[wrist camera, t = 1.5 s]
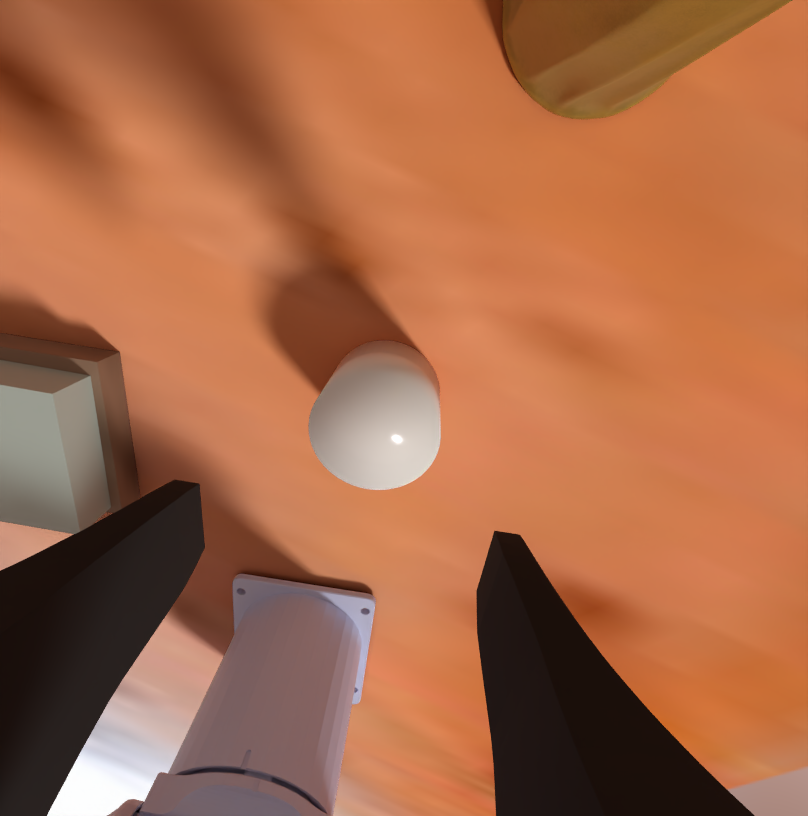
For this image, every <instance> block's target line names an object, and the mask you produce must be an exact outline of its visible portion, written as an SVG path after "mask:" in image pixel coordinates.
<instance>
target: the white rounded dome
mask: <svg viewBox="0 0 808 816" xmlns="http://www.w3.org/2000/svg"><path fill="white" fill-rule="evenodd" d="M309 436H310V441H311V444H312V447H313V449H314V452H315V454H316V455H317V457H318V459H319V460H320V461H321V463H322V464H323V465H324V466H325V467H326V468H327V469H328V470H329V471H330V472H331V473H332V474H334V475H335V476H336V477H338V478H339V479H341V480H343V481H344V482H347V483H349V484H351V485H354V486H357V487H360V488H365V489H372V490H386V489H393V488H397V487H400V486H403V485H406V484H408V483H410V482H412V481H414V480H415V479H417V478H418V477H420V476H421V475H422V474H423V473H424V472H425V471H426V470H427V469H428V468H429V467H430V466H431V464H432V462H433V461H434V459H435V457H436V455H437V453H438V449H439V446H440V439H441V428H440V386H439V381H438V378H437V375H436V372H435V370H434V368H433V367H432V365H431V364H430V362H429V361H428V360H427V359H426V358H425V357H424V356H423V355H422V354H421V353H420V352H418V351H417V350H415V349H414V348H412V347H410V346H408V345H406V344H403V343H400V342H396V341H390V340H377V341H371V342H368V343H364V344H362V345H360V346H358V347H356V348H355V349H353V350H351V351H350V352H349V353H348V354H347V355H346V356H345V357H344V358H343V359H342V360H341V362H340V363H339V365H338V367H337V368H336V370H335V371H334V373H333V374H332V376H331V378H330V379H329V381H328V382H327V384H326V386H325V387H324V389H323V390H322V392H321V393H320V395H319V397H318V398H317V400H316V401H315V403H314V405H313V408H312V410H311V414H310V417H309Z"/></svg>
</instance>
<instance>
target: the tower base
mask: <svg viewBox="0 0 808 816" xmlns="http://www.w3.org/2000/svg"><path fill="white" fill-rule="evenodd" d="M0 360H4V361H10V362H16V363H22V364H27V365H33V366H39V367H44V368H50V369H56V370H61V371H67V372H73V373H78V374H84V375H90V376H91V382H92V389H93V395H94V401H95V408H96V414H97V420H98V427H99V433H100V440H101V446H102V452H103V459H104V465H105V472H106V478H107V484H108V491H109V497H110V503H111V508H110V509H109V510H108V511H107V512H110V513H115V512H117V511H119V510H120V509H122V508H124V507H126V506H127V505H129V504H131V503H133V502H135V501H136V500H138V499H139V498H140V491H139V484H138V477H137V470H136V463H135V456H134V449H133V442H132V435H131V428H130V420H129V413H128V406H127V399H126V392H125V385H124V378H123V371H122V364H121V357H120V352H117V351H111V350H104V349H98V348H92V347H85V346H79V345H73V344H66V343H60V342H54V341H48V340H41V339H35V338H29V337H22V336H16V335H10V334H3V333H0Z"/></svg>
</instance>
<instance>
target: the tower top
mask: <svg viewBox="0 0 808 816" xmlns="http://www.w3.org/2000/svg"><path fill="white" fill-rule="evenodd" d="M110 508H111V503H110V497H109V491H108V484H107V478H106V472H105V465H104V459H103V452H102V446H101V440H100V433H99V427H98V420H97V414H96V408H95V401H94V395H93V389H92V382H91V376H90V375H84V374H78V373H73V372H67V371H61V370H56V369H50V368H44V367H39V366H33V365H27V364H22V363H16V362H10V361H4V360H0V521H2V522H8V523H14V524H19V525H25V526H31V527H37V528H42V529H48V530H54V531H60V532H65V533H71V534H76V533H78V532H80V531H82V530H84V529H86V528H88V527H89V526H91V525H93V524H94V523H95V522H96V521H97V520H98V519H99V518H100V517H101V516H102V515H103V514H105V513H106V512H107V511H108V510H109V509H110Z"/></svg>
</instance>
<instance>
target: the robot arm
mask: <svg viewBox="0 0 808 816" xmlns="http://www.w3.org/2000/svg"><path fill="white" fill-rule="evenodd" d="M204 548H205V543H204V532H203V520H202V508H201V496H200V485H199V484H198V483H192V482H185V481H179V480H173V481H171V482H169V483H167V484H165V485H164V486H162V487H160V488H158V489H156V490H154V491H153V492H151V493H149V494H147V495H145V496H144V497H142V498H140V499H138V500H136V501H135V502H133V503H131V504H129V505H127V506H126V507H124V508H122V509H120V510H119V511H117V512H115V513H113V514H111V515H109V516H108V517H106V518H104V519H102V520H100V521H98V522H97V523H95V524H93V525H91V526H89V527H88V528H86V529H84V530H82V531H80V532H78V533H76V534H74V535H72V536H70V537H68V538H66V539H64V540H62V541H60V542H58V543H56V544H54V545H52V546H50V547H49V548H47V549H45V550H43V551H41V552H39V553H37V554H35V555H33V556H31V557H29V558H27V559H25V560H23V561H20V562H18V563H16V564H14V565H12V566H10V567H8V568H5V569H3V570H1V571H0V816H47V814H48V812H49V810H50V808H51V806H52V804H53V802H54V801H55V799H56V797H57V795H58V793H59V791H60V789H61V787H62V786H63V784H64V782H65V780H66V778H67V776H68V774H69V772H70V771H71V769H72V767H73V765H74V763H75V761H76V759H77V757H78V756H79V754H80V752H81V750H82V748H83V746H84V745H85V743H86V741H87V739H88V738H89V736H90V734H91V732H92V730H93V729H94V727H95V725H96V723H97V721H98V720H99V718H100V716H101V714H102V713H103V711H104V709H105V707H106V705H107V704H108V702H109V700H110V699H111V697H112V695H113V694H114V692H115V691H116V689H117V687H118V686H119V684H120V683H121V681H122V679H123V678H124V676H125V675H126V674H127V672H128V671H129V669H130V668H131V666H132V665H133V663H134V662H135V660H136V659H137V657H138V656H139V654H140V653H141V651H142V650H143V648H144V647H145V646H146V644H147V643H148V641H149V640H150V638H151V637H152V635H153V634H154V632H155V631H156V629H157V628H158V626H159V625H160V623H161V622H162V620H163V619H164V618H165V616H166V615H167V613H168V612H169V610H170V609H171V607H172V606H173V604H174V603H175V601H176V600H177V598H178V597H179V595H180V593H181V592H182V590H183V589H184V587H185V586H186V584H187V582H188V580H189V578H190V576H191V574H192V572H193V571H194V569H195V567H196V565H197V563H198V560H199V558H200V556H201V554H202V552H203V550H204ZM232 586H233V613H234V636H233V638H232V640H231V643H230V645H229V647H228V649H227V651H226V653H225V655H224V657H223V659H222V661H221V664H220V666H219V668H218V670H217V672H216V674H215V676H214V678H213V680H212V682H211V685H210V687H209V689H208V691H207V693H206V695H205V697H204V699H203V701H202V703H201V706H200V708H199V710H198V712H197V714H196V716H195V718H194V720H193V722H192V724H191V727H190V729H189V731H188V733H187V735H186V737H185V739H184V741H183V743H182V745H181V748H180V750H179V752H178V754H177V756H176V758H175V760H174V762H173V764H172V766H171V768H170V771H169V773H168V774H167V773H162V772H161V773H159V774H158V775H157V777H156V779H155V781H154V783H153V785H152V787H151V789H150V791H149V793H148V795H147V798H146V800H145V802H143V801H139V800H135V799H130V800H127V801H126V802H124V803H123V804H122V805H121V806H120V807H119V808H118V809H116V810H115V811H113V812H112V813H110V814H109V815H107V816H333V812H334V806H335V800H336V794H337V788H338V782H339V777H340V771H341V765H342V759H343V753H344V747H345V742H346V736H347V730H348V724H349V718H350V713H351V707H352V704H357V703H359V702H360V699H361V693H362V686H363V680H364V674H365V667H366V661H367V655H368V648H369V642H370V635H371V629H372V623H373V616H374V610H375V604H376V599H375V597H374V596H373V595H371V594H368V593H362V592H355V591H349V590H343V589H336V588H330V587H324V586H318V585H311V584H305V583H299V582H292V581H286V580H280V579H273V578H267V577H261V576H254V575H248V574H238V575H236V576H235V578H234V580H233V583H232ZM365 608H367V609H365ZM477 634H478V642H479V650H480V658H481V666H482V673H483V681H484V688H485V696H486V703H487V711H488V718H489V726H490V733H491V741H492V752H493V762H494V780H495V801H496V816H754V815H753V814H752V813H751V812H750V811H749V810H748V809H747V808H746V807H745V806H743V804H742V803H740V802H739V801H738V800H737V799H736V798H735V797H734V796H733V795H732V794H731V793H730V792H729V791H728V790H727V789H725V788H724V787H723V786H722V785H721V784H720V783H719V782H718V781H717V780H716V779H715V778H714V777H713V776H712V775H711V774H710V773H709V772H708V771H707V770H706V769H705V768H704V767H703V766H702V765H701V764H700V763H699V762H698V761H697V760H696V759H695V758H694V757H693V756H692V755H691V754H690V753H689V752H688V751H687V750H686V749H685V748H684V747H683V746H682V745H681V744H680V743H679V741H678V740H677V739H676V738H675V737H674V736H673V735H672V734H671V733H670V732H669V731H668V730H667V729H666V728H665V727H664V726H663V725H662V724H661V723H660V722H659V721H658V719H657V718H656V717H655V716H654V715H653V714H652V713H651V712H650V711H649V710H648V709H647V708H646V706H645V705H644V704H643V703H642V702H641V701H640V700H639V698H638V697H637V696H636V695H635V694H634V693H633V691H632V690H631V689H630V688H629V687H628V686H627V684H626V683H625V682H624V681H623V680H622V679H621V678H620V676H619V675H618V674H617V673H616V672H615V670H614V669H613V668H612V667H611V666H610V664H609V663H608V662H607V661H606V659H605V658H604V657H603V656H602V654H601V653H600V652H599V650H598V649H597V648H596V646H595V645H594V644H593V642H592V641H591V640H590V639H589V637H588V636H587V635H586V633H585V632H584V630H583V629H582V628H581V626H580V625H579V624H578V622H577V621H576V619H575V618H574V617H573V615H572V614H571V612H570V611H569V609H568V608H567V606H566V605H565V604H564V602H563V601H562V599H561V598H560V596H559V595H558V593H557V592H556V590H555V589H554V587H553V586H552V584H551V583H550V581H549V580H548V578H547V577H546V575H545V573H544V572H543V570H542V569H541V567H540V566H539V564H538V562H537V561H536V559H535V558H534V556H533V554H532V553H531V551H530V550H529V548H528V546H527V545H526V543H525V542H524V540H523V539H522V537H521V536H520V535H518V534H512V533H505V532H499V531H494V535H493V538H492V541H491V545H490V548H489V551H488V555H487V558H486V561H485V565H484V568H483V571H482V575H481V578H480V582H479V585H478V588H477Z"/></svg>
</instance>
